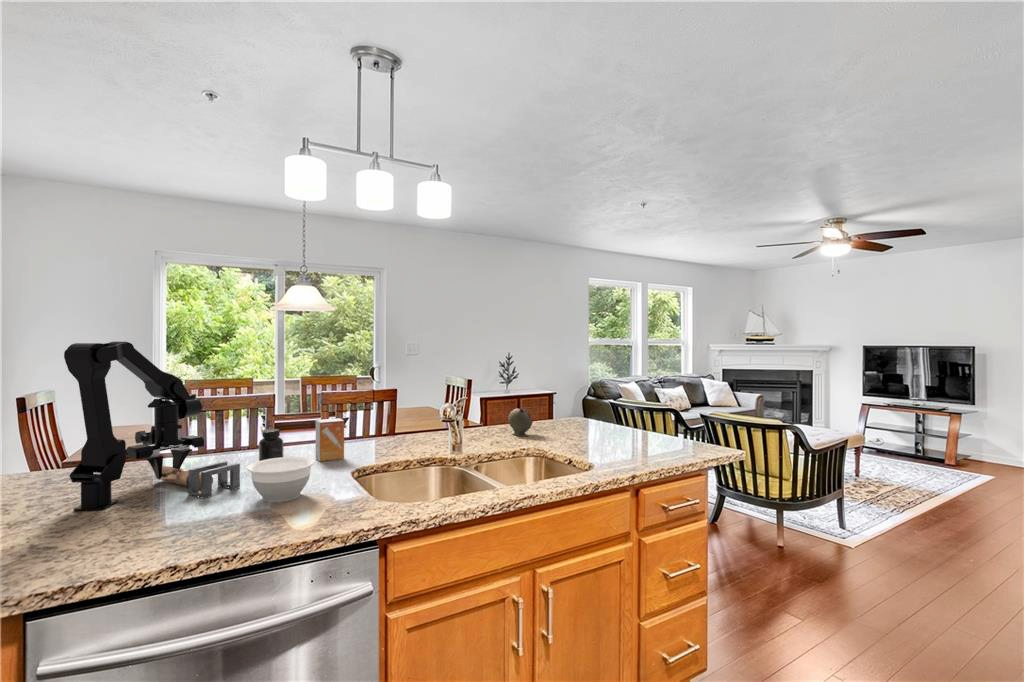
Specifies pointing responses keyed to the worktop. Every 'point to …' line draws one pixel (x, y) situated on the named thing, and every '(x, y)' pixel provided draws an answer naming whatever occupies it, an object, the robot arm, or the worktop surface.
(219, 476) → the collar bracket
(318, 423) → the small box
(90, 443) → the robot arm
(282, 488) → the bowl
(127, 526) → the worktop surface
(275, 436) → the supplement bottle
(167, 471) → the brown rounded cylinder
